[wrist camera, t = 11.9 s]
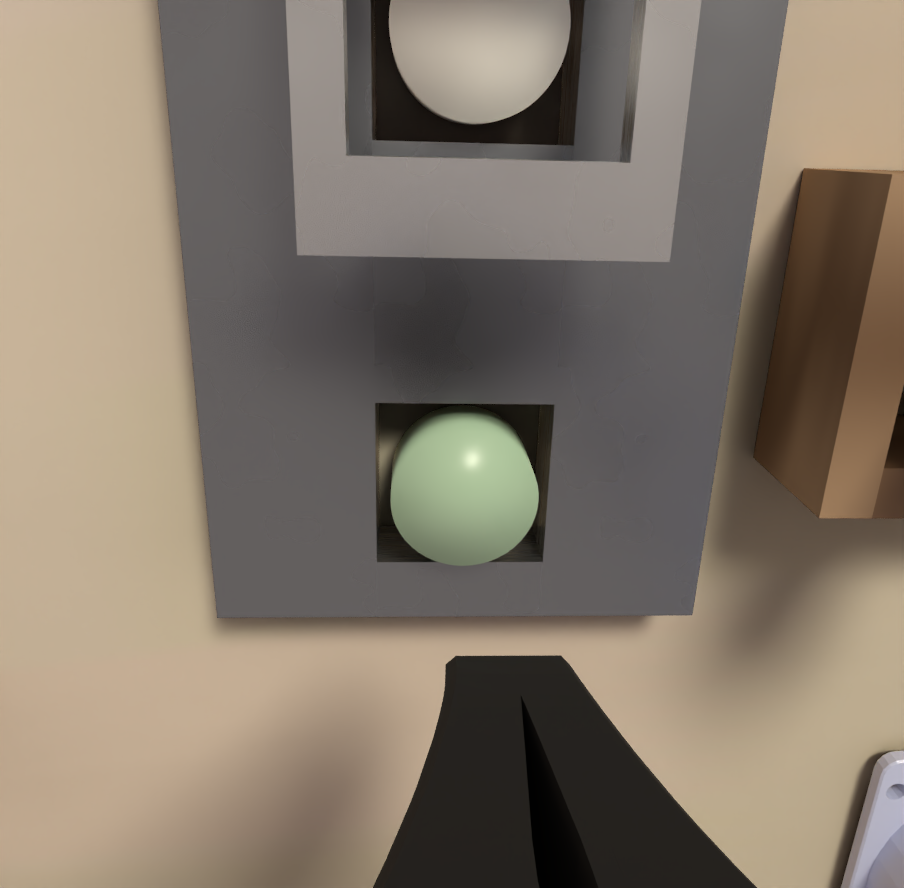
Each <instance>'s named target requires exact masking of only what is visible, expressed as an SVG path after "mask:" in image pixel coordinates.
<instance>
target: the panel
mask: <svg viewBox="0 0 904 888" xmlns="http://www.w3.org/2000/svg"><path fill="white" fill-rule="evenodd" d="M569 4H570V13H571V23H570V35H569V42H568V46H567V50H566V54H565V56H564V60H563V75H562V90H561V105H560V119H559V134H558V145H533V144H495V143H457V142H419V141H381V140H376V62H375V0H158V8H159V18H160V29H161V39H162V50H163V60H164V70H165V81H166V91H167V101H168V112H169V122H170V132H171V143H172V153H173V164H174V174H175V184H176V195H177V205H178V215H179V226H180V236H181V247H182V257H183V267H184V278H185V288H186V298H187V309H188V319H189V329H190V340H191V350H192V361H193V371H194V381H195V392H196V402H197V412H198V423H199V433H200V444H201V454H202V464H203V475H204V485H205V495H206V506H207V516H208V526H209V537H210V547H211V558H212V568H213V578H214V589H215V599H216V609H217V618H271V617H458V616H644V615H692V613H693V607H694V600H695V594H696V588H697V581H698V575H699V568H700V562H701V556H702V549H703V543H704V536H705V530H706V524H707V517H708V511H709V505H710V498H711V492H712V485H713V479H714V473H715V466H716V460H717V453H718V447H719V441H720V434H721V428H722V422H723V415H724V409H725V402H726V396H727V390H728V383H729V377H730V370H731V364H732V358H733V351H734V345H735V339H736V332H737V326H738V319H739V313H740V307H741V300H742V294H743V287H744V281H745V275H746V268H747V262H748V256H749V249H750V243H751V236H752V230H753V224H754V217H755V211H756V204H757V198H758V192H759V185H760V179H761V173H762V166H763V160H764V153H765V147H766V141H767V134H768V128H769V121H770V115H771V109H772V102H773V96H774V90H775V83H776V77H777V70H778V64H779V58H780V51H781V45H782V38H783V32H784V26H785V19H786V13H787V7H788V0H569ZM379 403H438V404H540V413H539V428H538V443H537V457H536V472H535V477H536V481H537V485H538V492H539V501H538V508H537V512H536V516H535V519H534V521H533V523H532V526H531V527H530V529H529V531H528V532H527V534H526V535H525V536H524V538H523V539H522V540H521V541H520V542H519V543H518V544H517V545H516V546H515V547H514V548H513V549H511V550H510V551H509V552H507V553H506V554H504V555H502V556H500V557H499V558H496V559H494V560H492V561H489V562H485V563H482V564H477V565H470V566H455V565H448V564H443V563H440V562H436V561H434V560H431V559H429V558H427V557H425V556H424V555H422V554H420V553H419V552H417V551H416V550H415V549H413V548H412V547H411V546H410V545H409V544H408V543H407V542H406V541H405V539H404V538H403V537H402V535H401V534H400V532H399V530H398V529H397V527H396V526H380V492H379Z"/></svg>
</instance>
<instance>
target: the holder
mask: <svg viewBox="0 0 904 888" xmlns="http://www.w3.org/2000/svg"><path fill="white" fill-rule="evenodd" d="M903 386H904V171H888V170H848V169H809V168H804V170H803V175H802V181H801V187H800V193H799V198H798V204H797V210H796V216H795V221H794V227H793V233H792V239H791V244H790V250H789V256H788V261H787V267H786V273H785V279H784V284H783V290H782V296H781V302H780V307H779V313H778V319H777V324H776V330H775V336H774V342H773V347H772V353H771V359H770V365H769V370H768V376H767V382H766V387H765V393H764V399H763V405H762V410H761V416H760V422H759V428H758V433H757V439H756V445H755V451H754V456H753V457H754V458H755V459H756V460H757V461H758V462H759V463H760V464H761V465H762V466H763V467H764V468H765V469H766V470H768V471H769V472H770V473H771V474H772V475H773V476H774V477H775V478H776V479H777V480H778V481H779V482H781V483H782V484H783V485H784V486H785V487H786V488H787V489H788V490H789V491H790V492H791V493H792V494H793V495H795V496H796V497H797V498H798V499H799V500H800V501H801V502H802V503H803V504H804V505H805V506H806V507H808V508H809V509H810V510H811V511H812V512H813V513H814V514H815V515H816V516H817V517H818V518H904V415H897V411H898V407H899V403H900V399H901V395H902V390H903Z"/></svg>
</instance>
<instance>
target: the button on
mask: <svg viewBox="0 0 904 888" xmlns="http://www.w3.org/2000/svg"><path fill="white" fill-rule="evenodd" d="M538 501H539V492H538V485H537V481H536V477H535V474H534V472H533V469H532V466H531V463H530V461H529V458H528V455H527V452H526V450H525V447H524V445H523V442H522V440H521V438H520V437H519V435H518V434H517V432H516V431H515V430H514V428H513V427H512V426H511V425H510V424H509V423H508V422H507V421H505V420H504V419H503V418H501V417H500V416H498V415H497V414H495V413H493V412H491V411H489V410H486V409H483V408H479V407H474V406H466V405H457V406H449V407H444V408H440V409H437V410H435V411H432V412H430V413H428V414H426V415H424V416H423V417H421V418H420V419H418V420H417V421H416V422H415V423H413V424H412V425H411V426H410V427H409V429H408V430H407V431H406V432H405V433H404V435H403V436H402V438H401V440H400V441H399V443H398V445H397V448H396V451H395V454H394V458H393V467H392V483H391V499H390V502H391V511H392V516H393V519H394V522H395V525H396V527H397V529H398V530H399V532H400V534H401V535H402V537H403V538H404V539H405V541H406V542H407V543H408V544H409V545H410V546H411V547H412V548H413V549H415V550H416V551H417V552H419V553H420V554H422V555H424V556H425V557H427V558H429V559H431V560H434V561H436V562H440V563H443V564H448V565H455V566H470V565H477V564H482V563H485V562H489V561H492V560H494V559H496V558H499V557H500V556H502V555H504V554H506V553H507V552H509V551H510V550H511V549H513V548H514V547H515V546H516V545H517V544H518V543H519V542H520V541H521V540H522V539H523V538H524V536H525V535H526V534H527V532H528V531H529V529H530V527H531V526H532V523H533V521H534V519H535V516H536V512H537V508H538Z"/></svg>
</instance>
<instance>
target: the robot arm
mask: <svg viewBox="0 0 904 888" xmlns="http://www.w3.org/2000/svg"><path fill="white" fill-rule="evenodd" d="M373 888H757V887H756V886H755V885H754V884H753V883H752V882H751V881H750V880H749V879H748V878H747V877H746V876H745V875H744V874H743V873H742V872H741V871H740V870H739V869H738V868H737V867H736V866H735V865H734V864H733V863H732V862H731V861H730V860H729V858H728V857H727V856H726V855H725V854H724V853H723V852H722V851H721V850H720V849H719V848H718V847H717V846H716V845H715V843H714V842H713V841H712V840H711V839H710V838H709V837H708V836H707V835H706V834H705V833H704V832H703V831H702V830H701V828H700V827H699V826H698V825H697V824H696V823H695V822H694V821H693V820H692V818H691V817H690V816H689V815H688V814H687V813H686V812H685V811H684V809H683V808H682V807H681V806H680V805H679V804H678V803H677V802H676V800H675V799H674V798H673V797H672V796H671V795H670V793H669V792H668V791H667V790H666V789H665V787H664V786H663V785H662V784H661V783H660V781H659V780H658V779H657V778H656V777H655V775H654V774H653V773H652V772H651V771H650V769H649V768H648V767H647V766H646V765H645V764H644V762H643V761H642V760H641V759H640V758H639V756H638V755H637V754H636V753H635V751H634V750H633V749H632V748H631V746H630V745H629V744H628V743H627V741H626V740H625V739H624V738H623V736H622V735H621V734H620V732H619V731H618V730H617V729H616V727H615V726H614V725H613V723H612V722H611V721H610V719H609V718H608V717H607V716H606V714H605V713H604V712H603V710H602V709H601V708H600V706H599V705H598V704H597V702H596V701H595V700H594V698H593V697H592V695H591V694H590V693H589V691H588V690H587V689H586V687H585V686H584V684H583V683H582V682H581V680H580V679H579V677H578V676H577V675H576V673H575V672H574V670H573V669H572V667H571V666H570V665H569V664H568V663H567V661H566V660H565V659H564V658H563V657H562V656H455V657H454V658H453V659H452V660H451V661H449V662H448V663H447V664H446V675H445V691H444V697H443V702H442V707H441V711H440V715H439V719H438V723H437V726H436V730H435V734H434V737H433V741H432V744H431V747H430V749H429V752H428V755H427V758H426V761H425V764H424V767H423V770H422V773H421V776H420V779H419V782H418V785H417V787H416V790H415V793H414V795H413V798H412V800H411V803H410V805H409V808H408V810H407V812H406V815H405V817H404V819H403V822H402V824H401V826H400V829H399V831H398V833H397V835H396V838H395V840H394V842H393V845H392V847H391V849H390V852H389V854H388V856H387V859H386V861H385V863H384V865H383V868H382V870H381V872H380V874H379V876H378V878H377V880H376V882H375V884H374V886H373ZM841 888H904V751H893V752H888V753H886V754H884V755H883V756H881V757H880V758H879V759H878V760H877V762H876V764H875V766H874V769H873V773H872V777H871V780H870V784H869V787H868V791H867V795H866V798H865V802H864V806H863V809H862V813H861V816H860V820H859V824H858V827H857V831H856V835H855V838H854V842H853V845H852V849H851V853H850V856H849V860H848V864H847V867H846V871H845V874H844V878H843V882H842V885H841Z"/></svg>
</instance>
